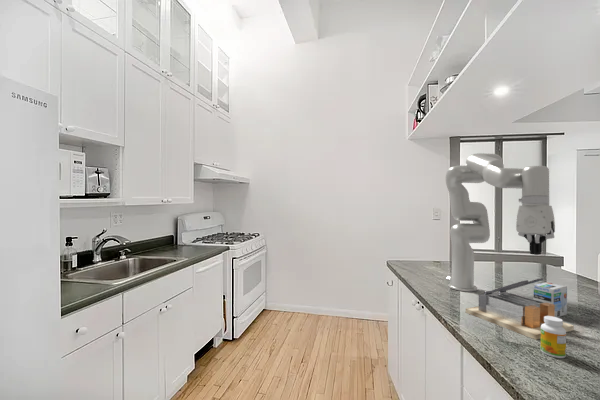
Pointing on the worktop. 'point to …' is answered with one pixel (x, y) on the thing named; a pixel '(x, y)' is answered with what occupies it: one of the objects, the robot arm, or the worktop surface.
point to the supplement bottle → (553, 337)
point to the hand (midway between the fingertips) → (535, 254)
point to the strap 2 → (521, 285)
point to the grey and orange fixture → (516, 308)
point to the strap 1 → (505, 287)
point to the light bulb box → (552, 296)
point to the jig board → (513, 324)
